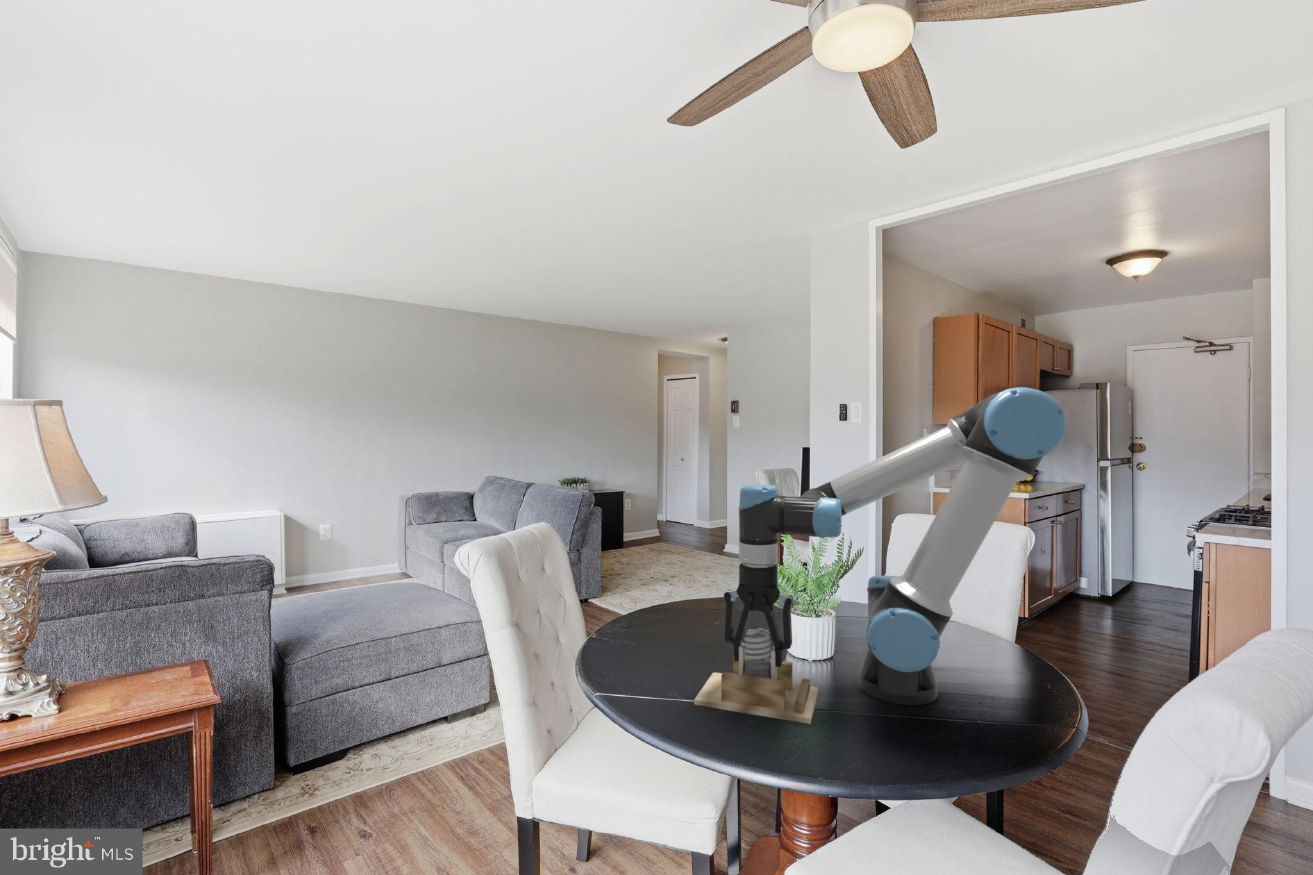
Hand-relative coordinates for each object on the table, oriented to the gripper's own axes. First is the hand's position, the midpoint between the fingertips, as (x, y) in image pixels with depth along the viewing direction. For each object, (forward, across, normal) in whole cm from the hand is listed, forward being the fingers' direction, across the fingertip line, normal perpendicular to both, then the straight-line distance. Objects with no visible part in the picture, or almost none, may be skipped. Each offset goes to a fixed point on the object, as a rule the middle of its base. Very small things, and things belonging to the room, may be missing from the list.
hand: (758, 679), depth 122 cm
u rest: (+4, 0, 0) cm, 4 cm away
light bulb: (+2, 0, 0) cm, 2 cm away
